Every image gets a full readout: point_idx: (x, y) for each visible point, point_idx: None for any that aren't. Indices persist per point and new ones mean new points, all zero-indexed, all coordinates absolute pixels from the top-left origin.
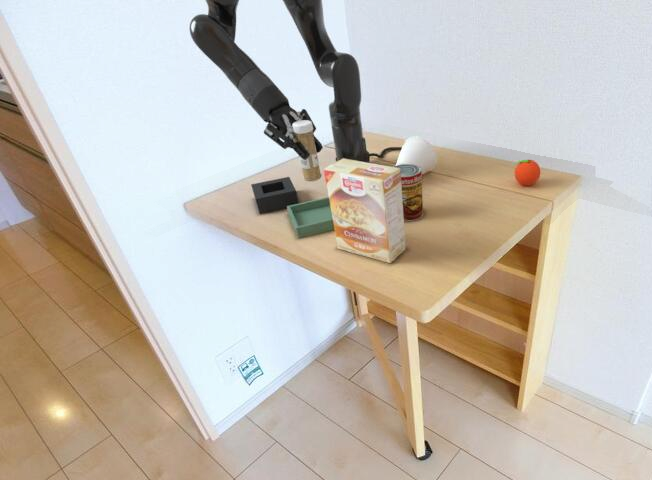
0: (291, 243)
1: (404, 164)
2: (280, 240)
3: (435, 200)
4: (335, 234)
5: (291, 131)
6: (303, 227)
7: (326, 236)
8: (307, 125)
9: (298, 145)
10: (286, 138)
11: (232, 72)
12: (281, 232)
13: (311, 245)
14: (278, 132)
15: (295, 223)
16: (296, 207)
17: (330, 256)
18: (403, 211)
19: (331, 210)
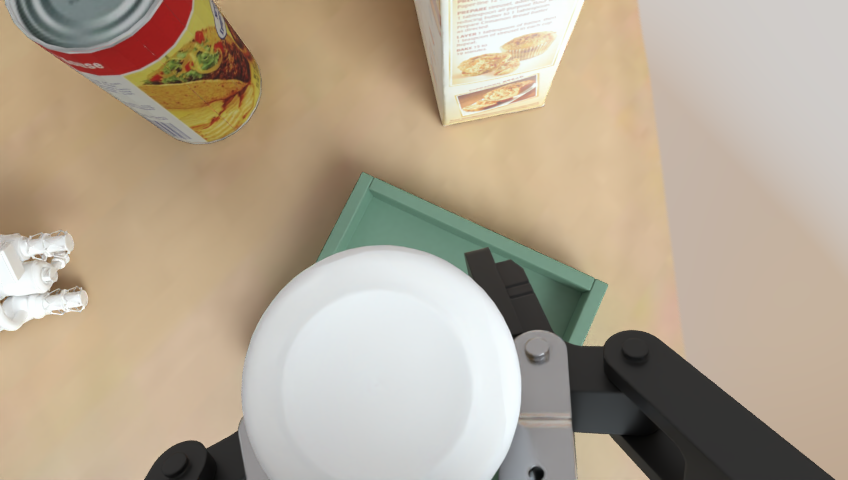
0: (637, 278)
1: (23, 28)
2: (655, 336)
3: (57, 84)
4: (552, 79)
5: (543, 421)
6: (577, 271)
7: (512, 209)
8: (389, 247)
9: (521, 325)
10: (653, 369)
11: None
12: None
13: (592, 202)
14: (751, 452)
15: (585, 322)
16: None
17: (592, 89)
18: (240, 41)
19: (579, 13)
